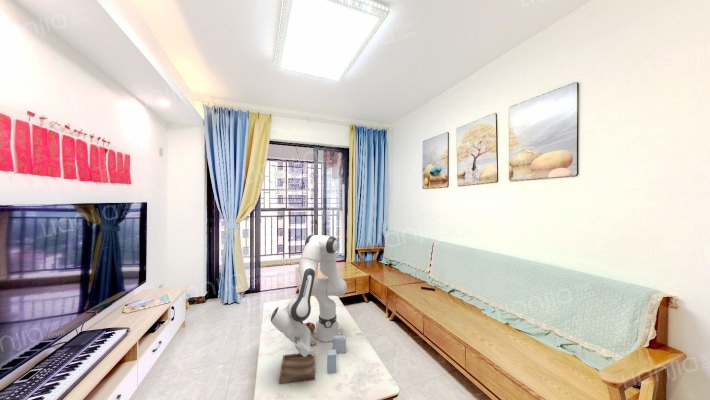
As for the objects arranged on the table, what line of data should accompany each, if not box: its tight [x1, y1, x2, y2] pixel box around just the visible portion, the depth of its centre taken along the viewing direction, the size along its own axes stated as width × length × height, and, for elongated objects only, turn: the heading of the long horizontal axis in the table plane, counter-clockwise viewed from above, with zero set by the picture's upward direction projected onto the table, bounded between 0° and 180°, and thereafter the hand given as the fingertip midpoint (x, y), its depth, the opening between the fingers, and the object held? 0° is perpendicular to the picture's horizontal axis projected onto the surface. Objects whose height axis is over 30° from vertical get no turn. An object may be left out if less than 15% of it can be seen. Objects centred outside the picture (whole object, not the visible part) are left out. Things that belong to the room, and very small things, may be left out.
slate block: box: [326, 348, 337, 375], centre depth 128 cm, size 4×4×10 cm
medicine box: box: [332, 334, 347, 354], centre depth 144 cm, size 8×4×9 cm, turn 92°
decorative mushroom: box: [304, 322, 317, 346], centre depth 154 cm, size 11×11×15 cm
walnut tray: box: [278, 352, 316, 385], centre depth 128 cm, size 18×18×3 cm
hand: (314, 348), depth 126 cm, fingers open, 8 cm apart
